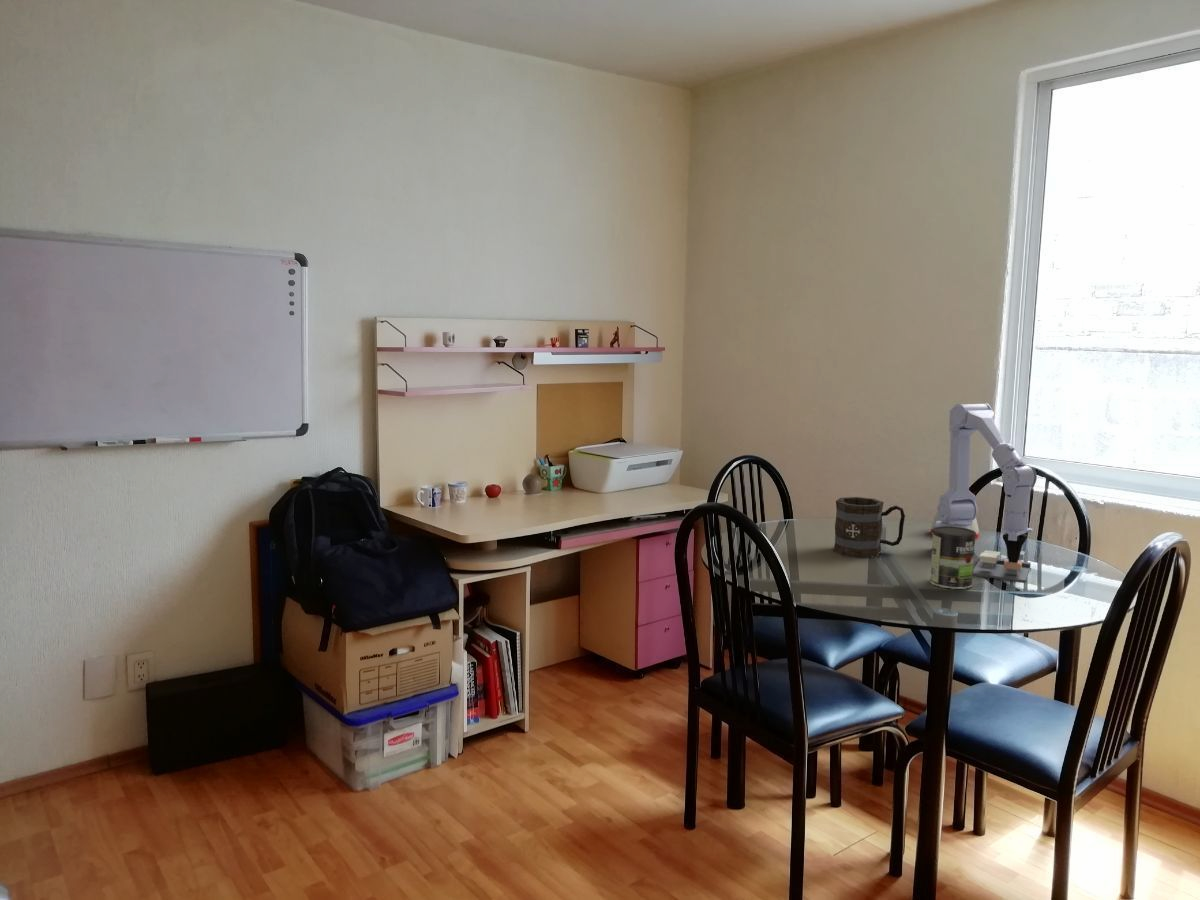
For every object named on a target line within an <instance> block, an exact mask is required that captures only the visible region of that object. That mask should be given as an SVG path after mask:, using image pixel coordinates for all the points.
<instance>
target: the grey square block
mask: <svg viewBox="0 0 1200 900" xmlns="http://www.w3.org/2000/svg"><path fill="white" fill-rule="evenodd" d="M1025 555H1026V551H1024V550H1021V552H1020V556H1019V560H1020V561H1022V562H1024V560H1025ZM1006 559H1008V554H1006Z"/></svg>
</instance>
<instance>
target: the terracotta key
mask: <svg viewBox="0 0 1200 900" xmlns="http://www.w3.org/2000/svg"><path fill="white" fill-rule="evenodd" d="M1022 562H1023V561H1022V560H1021V561H1020V560H1018V562H1017V563H1016V562H1009V560H1008V559H1007V558H1005V561H1004V568H1006V569H1007V574H1013V575H1017V573H1018V570H1021V567H1022Z"/></svg>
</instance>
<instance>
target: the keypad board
mask: <svg viewBox="0 0 1200 900" xmlns="http://www.w3.org/2000/svg"><path fill="white" fill-rule="evenodd" d="M1005 559H1006V558H1005ZM1005 559H1003V558H1000V559H999V561H997V562H996V565H995V566H993V568H985V567H983V562H979V560H980V555H979V557H978V561H977V563H976V565H975V566H974V567H973V576H975V577H982V578H983V577H984V578H991V579H997V580H998V579H999V580H1005V581H1012V582H1013V581H1014V582H1021V583H1026V582H1027V581H1026V580H1027V578H1028V575H1029V572H1030V570H1031V561H1030V562H1029V561H1022V567H1021V570H1018V573H1017V575H1013V574H1007V569H1006V568H1004V561H1005Z"/></svg>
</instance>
